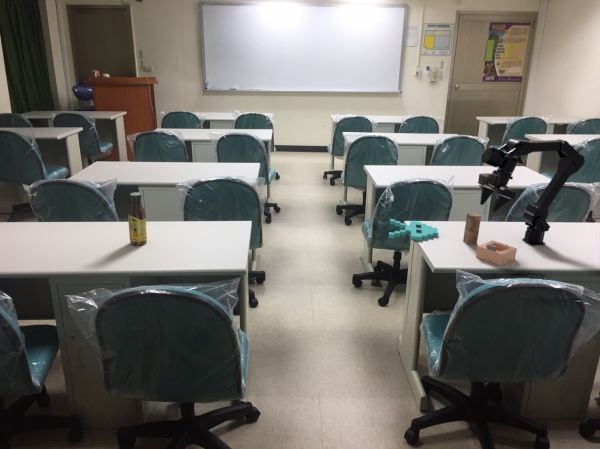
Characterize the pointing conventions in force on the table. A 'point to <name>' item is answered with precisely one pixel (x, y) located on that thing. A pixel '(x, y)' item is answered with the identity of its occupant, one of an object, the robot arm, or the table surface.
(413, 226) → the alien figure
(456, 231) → the table surface
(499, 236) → the table surface
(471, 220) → the walnut stick
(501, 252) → the box
